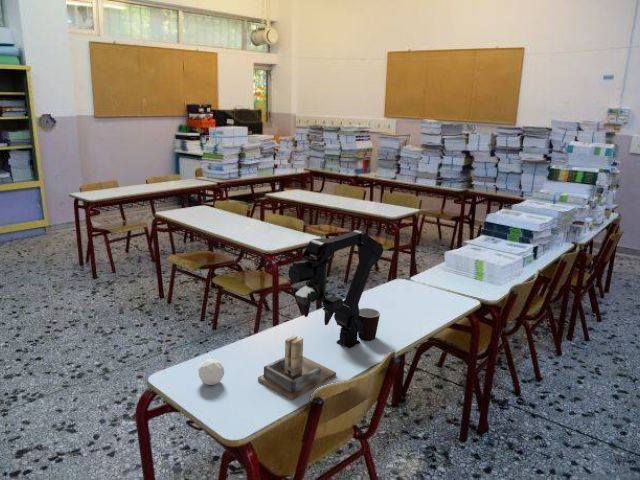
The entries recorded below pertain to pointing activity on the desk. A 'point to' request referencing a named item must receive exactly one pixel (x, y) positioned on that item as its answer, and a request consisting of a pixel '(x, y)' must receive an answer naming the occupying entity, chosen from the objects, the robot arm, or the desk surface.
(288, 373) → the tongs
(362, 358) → the desk surface
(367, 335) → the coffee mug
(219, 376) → the ball
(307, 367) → the walnut stand
